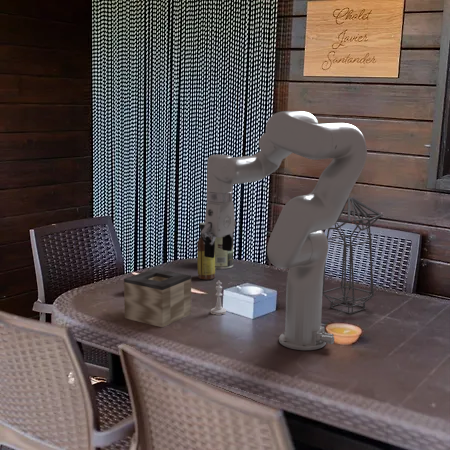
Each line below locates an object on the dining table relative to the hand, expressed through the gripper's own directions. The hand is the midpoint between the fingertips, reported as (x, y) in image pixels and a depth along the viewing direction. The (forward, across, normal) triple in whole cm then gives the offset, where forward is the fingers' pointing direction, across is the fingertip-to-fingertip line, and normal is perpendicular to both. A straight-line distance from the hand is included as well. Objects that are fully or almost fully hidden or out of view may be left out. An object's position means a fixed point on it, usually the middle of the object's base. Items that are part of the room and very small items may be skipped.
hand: (218, 253), depth 205 cm
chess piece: (+18, 0, -1) cm, 19 cm away
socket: (+18, -13, +12) cm, 26 cm away
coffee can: (+19, +46, +28) cm, 57 cm away
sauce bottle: (+19, +29, +23) cm, 42 cm away
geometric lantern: (+18, +26, -31) cm, 44 cm away
